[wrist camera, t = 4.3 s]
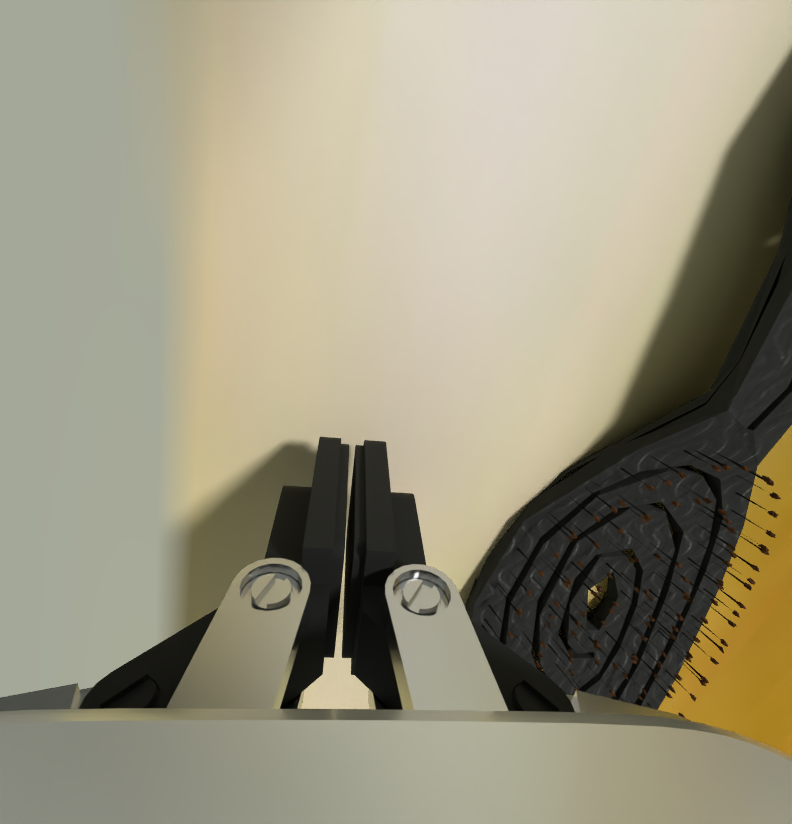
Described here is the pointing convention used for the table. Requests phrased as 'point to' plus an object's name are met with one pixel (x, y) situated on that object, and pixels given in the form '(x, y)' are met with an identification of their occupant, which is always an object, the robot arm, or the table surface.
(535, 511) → the hairbrush
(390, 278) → the table surface
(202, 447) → the table surface
